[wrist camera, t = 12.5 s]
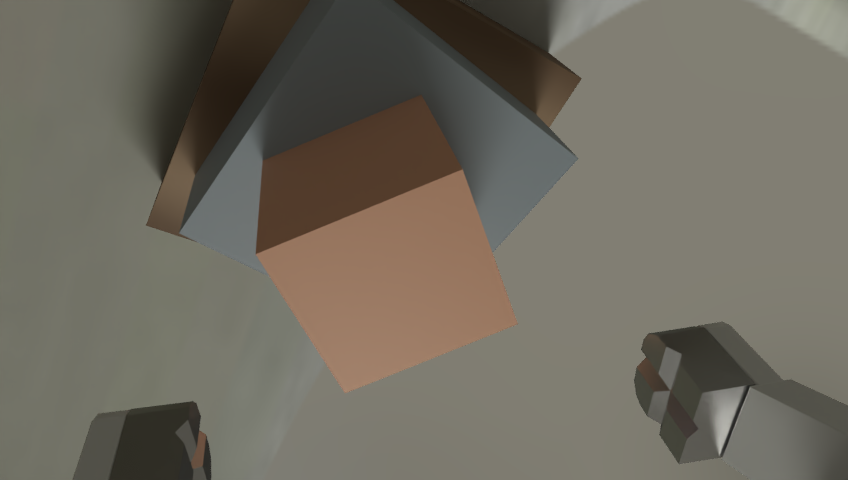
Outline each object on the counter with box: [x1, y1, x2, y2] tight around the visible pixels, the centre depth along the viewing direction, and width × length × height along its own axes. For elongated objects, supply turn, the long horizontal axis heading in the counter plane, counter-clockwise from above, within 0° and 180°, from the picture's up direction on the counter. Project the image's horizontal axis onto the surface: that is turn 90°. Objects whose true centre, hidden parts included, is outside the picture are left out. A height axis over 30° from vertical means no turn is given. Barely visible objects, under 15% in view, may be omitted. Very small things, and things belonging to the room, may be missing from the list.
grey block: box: [179, 0, 578, 277], centre depth 21 cm, size 9×9×4 cm
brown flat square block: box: [146, 0, 581, 242], centre depth 24 cm, size 12×12×4 cm
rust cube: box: [256, 95, 518, 393], centre depth 17 cm, size 5×5×5 cm
